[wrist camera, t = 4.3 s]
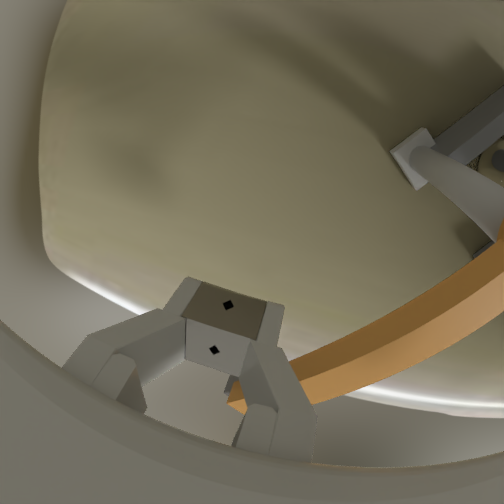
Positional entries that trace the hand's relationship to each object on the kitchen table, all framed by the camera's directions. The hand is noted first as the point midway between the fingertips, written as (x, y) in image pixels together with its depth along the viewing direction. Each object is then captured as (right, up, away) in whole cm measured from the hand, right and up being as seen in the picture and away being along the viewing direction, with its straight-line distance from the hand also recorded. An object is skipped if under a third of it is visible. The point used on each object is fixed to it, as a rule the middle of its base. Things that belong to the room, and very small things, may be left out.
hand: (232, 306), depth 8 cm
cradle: (+19, +8, +6) cm, 22 cm away
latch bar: (+6, 0, +2) cm, 6 cm away
